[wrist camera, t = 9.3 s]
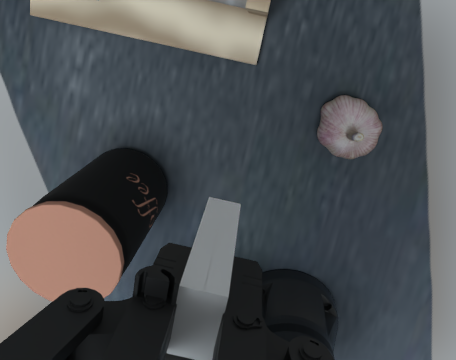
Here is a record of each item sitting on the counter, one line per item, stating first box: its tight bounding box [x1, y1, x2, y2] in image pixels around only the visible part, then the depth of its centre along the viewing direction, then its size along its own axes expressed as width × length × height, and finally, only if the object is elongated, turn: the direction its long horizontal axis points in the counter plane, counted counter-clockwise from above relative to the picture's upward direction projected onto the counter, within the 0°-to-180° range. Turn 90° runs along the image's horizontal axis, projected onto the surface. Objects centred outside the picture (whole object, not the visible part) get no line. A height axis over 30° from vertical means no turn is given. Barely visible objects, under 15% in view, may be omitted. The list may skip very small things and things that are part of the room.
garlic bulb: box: [317, 95, 382, 159], centre depth 41 cm, size 8×7×8 cm
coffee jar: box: [6, 149, 167, 302], centre depth 41 cm, size 11×11×18 cm
